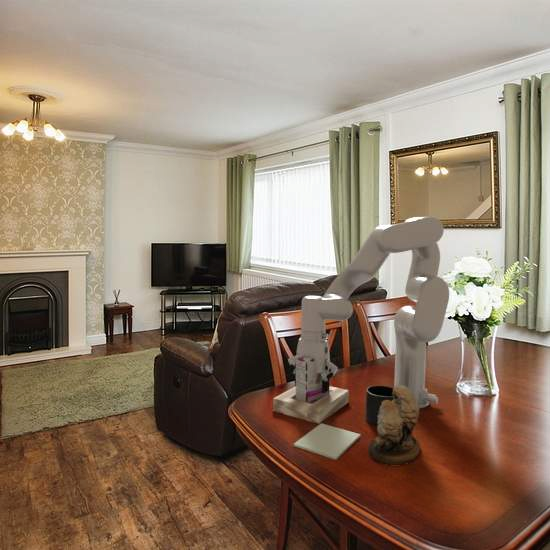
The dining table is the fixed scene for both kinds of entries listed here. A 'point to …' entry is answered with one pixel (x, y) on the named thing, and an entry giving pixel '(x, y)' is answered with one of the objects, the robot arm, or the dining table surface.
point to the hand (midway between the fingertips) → (311, 388)
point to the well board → (311, 405)
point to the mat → (327, 441)
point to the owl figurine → (396, 429)
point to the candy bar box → (308, 381)
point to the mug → (376, 401)
